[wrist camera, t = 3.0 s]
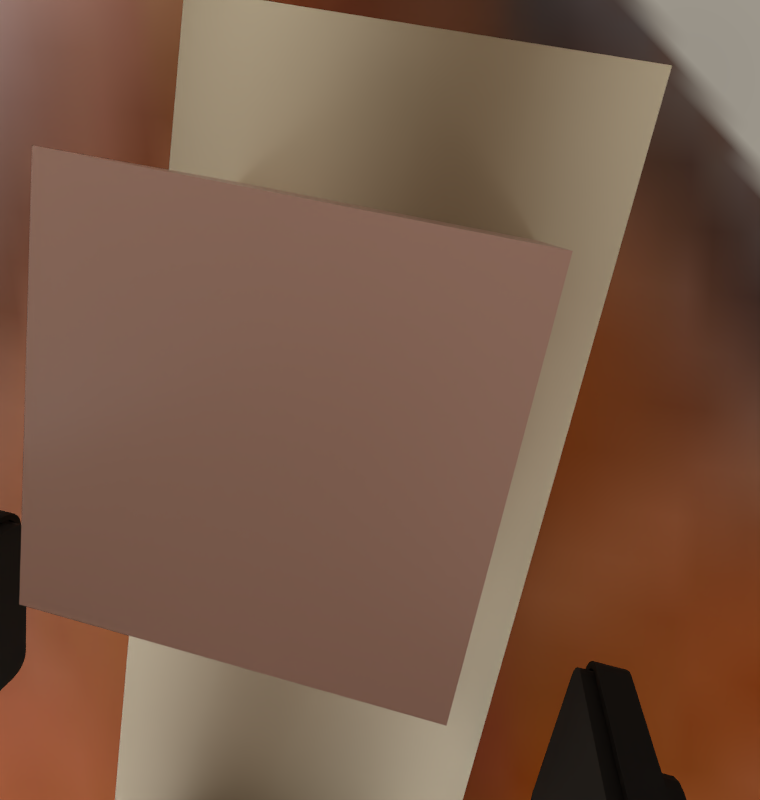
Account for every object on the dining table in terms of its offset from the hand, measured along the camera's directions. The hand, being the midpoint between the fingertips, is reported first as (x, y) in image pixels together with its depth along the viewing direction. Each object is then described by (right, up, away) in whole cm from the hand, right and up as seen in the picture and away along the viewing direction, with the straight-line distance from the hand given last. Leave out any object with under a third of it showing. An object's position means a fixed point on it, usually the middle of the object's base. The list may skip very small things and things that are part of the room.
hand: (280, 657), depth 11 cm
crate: (+1, +5, -2) cm, 5 cm away
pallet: (+1, 0, +4) cm, 4 cm away
